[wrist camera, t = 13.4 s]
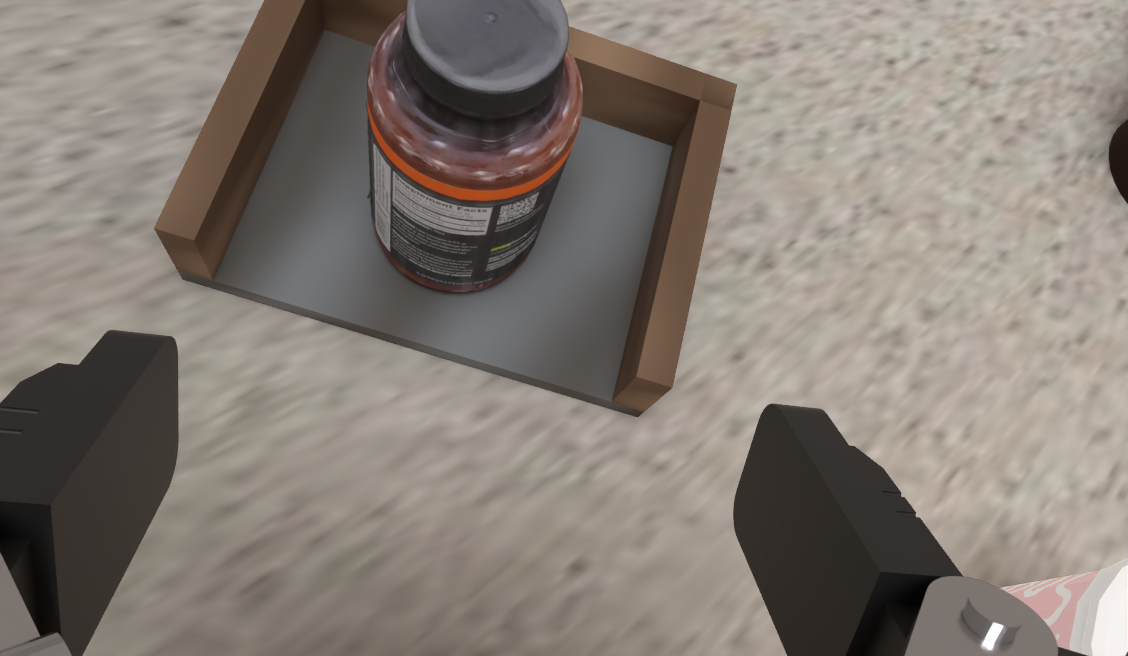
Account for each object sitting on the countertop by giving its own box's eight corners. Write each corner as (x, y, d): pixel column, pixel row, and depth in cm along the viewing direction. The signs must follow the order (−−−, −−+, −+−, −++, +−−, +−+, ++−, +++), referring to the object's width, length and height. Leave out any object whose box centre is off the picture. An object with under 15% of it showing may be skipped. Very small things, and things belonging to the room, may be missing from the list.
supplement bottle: (431, 120, 32) (455, -124, 22) (565, 205, 32) (654, 2, 22) (334, 238, 30) (311, 29, 20) (479, 331, 30) (533, 170, 20)
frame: (182, 278, 30) (153, 228, 26) (306, 8, 34) (297, -68, 30) (637, 416, 31) (672, 387, 27) (700, 141, 36) (736, 84, 32)
